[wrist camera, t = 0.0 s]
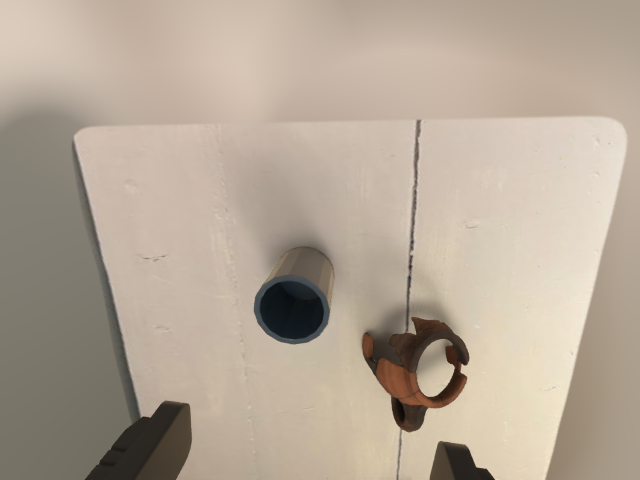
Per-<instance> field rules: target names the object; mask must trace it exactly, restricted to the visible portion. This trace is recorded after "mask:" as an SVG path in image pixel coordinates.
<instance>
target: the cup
mask: <svg viewBox="0 0 640 480" xmlns="http://www.w3.org/2000/svg"><path fill="white" fill-rule="evenodd" d="M334 278H335V276H334V269H333V266H332V264H331V262H330V260H329V259H328V258H327V256H325V255H324V254H323V253H322V252H320V251H319V250H317V249H314V248H310V247H297V248H294V249H291V250H289V251H288V252H286V253H285V254H284V255H283V256H282V257H281V258H280V260H279V261H278V263H277V264H276V266H275V267H274V269H273V270H272V272H271V273H270V275H269V276H268V278H267V279H266V281H265V282H264V284H263V285H262V287H261V288H260V290H259V291H258V293H257V295H256V297H255V303H254V312H255V316H256V319H257V322H258V324H259V325H260V326H261V328H262V329H263V330H264V331H265V333H266V334H267V335H269V336H271V337H272V338H274V339H276V340H278V341H280V342H284V343H289V344H300V343H307V342H309V341H311V340H313V339H315V338H316V337H318V336H319V335H320V334H321V333H322V332H323V330H324V329H325V328H326V326H327V324H328V320H329V315H330V309H331V301H332V293H333V286H334Z"/></svg>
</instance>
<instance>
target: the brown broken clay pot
mask: <svg viewBox="0 0 640 480" xmlns="http://www.w3.org/2000/svg"><path fill="white" fill-rule="evenodd" d="M411 319H412V321H413V322H414V325H415V329H416V334H417V335H414V334H412V333H404V334H400V335H399V334H394V335H393V336H392V337H391V338H390V339H389V341H388V343H389V344H390V345H391V346H392V347H394V348H395V351H396V353H397V355H398V356H399V358H400V360H401V362H402V365H399V364H395V363H393V362H391V361H390V360H388V359H386V358H381V359H379V361H378V362H376V361H374V359H373V358H372V350H373V344H374V339H373V338H371V337H370V336H369V335H368V334H367V333H365V334H364V337H363V343H362V348H363V355H364V358H365V360H366V362H367V364H368V365H369V367H370V368H371V370H372V371H373V374H374V375H375V376H376V378H377V380H378V381H379V383H380V384H381V385H382V387H383V388H384V389H385V390H386V391H387V392H388V393H389V394H390V395H391V403H392V411H393V416H394V419H395V421H396V423H397V425H398V426H399V427H400V428H402V429H403V430H405V431H406V432H412V431H416V430H418V429H419V428H420V427H421V426H422V424H423V421H424V416H425V413H426V410H427V409H428V408H442V407H444V406H446V405H448V404H450V403H451V402H452V401H454V400H455V399H456V398H457V397H458V395H459V394H460V393H461V391H462V390H463V388H464V386H465V384H466V381H467V376H465V375H464V374H462V373H461V372H460V371H461V363H462V364H463V365H467V364H468V362H469V353H468V350H467V348H466V345H465V343H464V342H463V340H462V339H461V338H460V337H459V336H457V335H455V334H454V333H453V331H452V330H451V329H450V327H448V326H447V325H446V324H445V323H443V322H442V323H441V322H440V321H438V320H424V319H420V318H416V317H412V318H411ZM439 339H448V340H449V341H450V342H451V343H452V345H453V346H448V347H446V349H445V350H446V358H447V361H448V363H450V364H453V365H454V367H455V369H454V373H453V376H452V378H451V380H450V382H449V383H448V385H447V386H446V388H445V389H444V390H443V391H442V392H441V393H440V394H438V395H437V396H434V397H427V396H425V395H424V394H423V393H422V392H421V390H420V389H419V386H418V382H417V374H416V370H417V366H418V362H419V359H420V357H421V355H422V353H423V352H424V350H425V349H426V347H427V346H428V345H430V343H432V342H434V341H436V340H439Z"/></svg>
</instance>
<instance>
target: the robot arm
mask: <svg viewBox="0 0 640 480" xmlns="http://www.w3.org/2000/svg"><path fill="white" fill-rule="evenodd" d="M191 442H192V433H191V415H190V406H189V404H187V403H180V402H173V401H164V402H163V403H162V404H161V405H160V406H159V407H158V409H157V410H156V411H155V413H154V414H153V415H152V417H151V418H150V417H142V418H141V419H139V420H138V421H137V422H135V423H134V424H133V425H131V426H130V427H129V428H127V429H126V430H125V431H124V432H123V433H122V435H121V436H120V437H119V438H118V440H117V441H116V442H115V443H114V444H113V446H112V448H111V450H109V451H108V452H107V453H106V454H105V456H104V457H103V458H102V459H101V460H100V463H99V465H96V467H95V468H94V469H93V470H92V471H91V473H90V474H89V475H88V476H87V478H86V479H85V480H176V478H177V477H178V475H179V473H180V471H181V469H182V467H183V465H184V463H185V461H186V459H187V457H188V454H189V451H190V448H191ZM430 480H495V479H494V478H493V476H492V475H491V474H490V473H489V471H488V470H487V469H483V468H477V467H476V466H475V463H474V461H473V458H472V456H471V453H470V451H469V449H468V447H467V446H466V445H463V444H456V443H450V442H443V441H440V442H439V443H438V445H437V449H436V454H435V458H434V462H433V466H432V470H431V474H430Z"/></svg>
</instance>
